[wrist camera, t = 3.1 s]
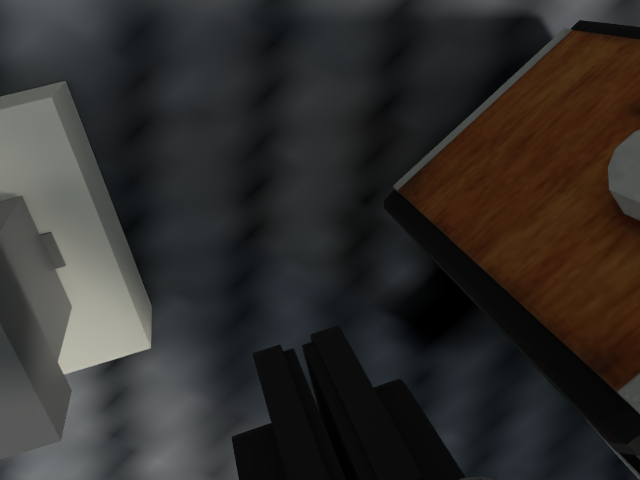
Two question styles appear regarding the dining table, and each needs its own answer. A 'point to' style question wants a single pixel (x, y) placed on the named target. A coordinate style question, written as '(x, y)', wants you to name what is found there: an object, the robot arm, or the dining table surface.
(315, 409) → the robot arm
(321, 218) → the dining table surface
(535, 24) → the dining table surface
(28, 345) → the fader knob
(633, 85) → the radio cassette player
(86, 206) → the fader console
